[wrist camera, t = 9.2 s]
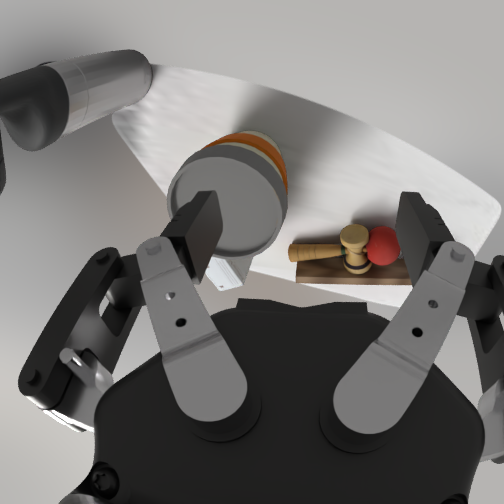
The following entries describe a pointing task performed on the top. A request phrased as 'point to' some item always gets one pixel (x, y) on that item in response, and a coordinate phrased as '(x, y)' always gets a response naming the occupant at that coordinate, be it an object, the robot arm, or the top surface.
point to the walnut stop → (336, 273)
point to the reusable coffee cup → (237, 190)
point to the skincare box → (228, 272)
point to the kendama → (354, 248)
